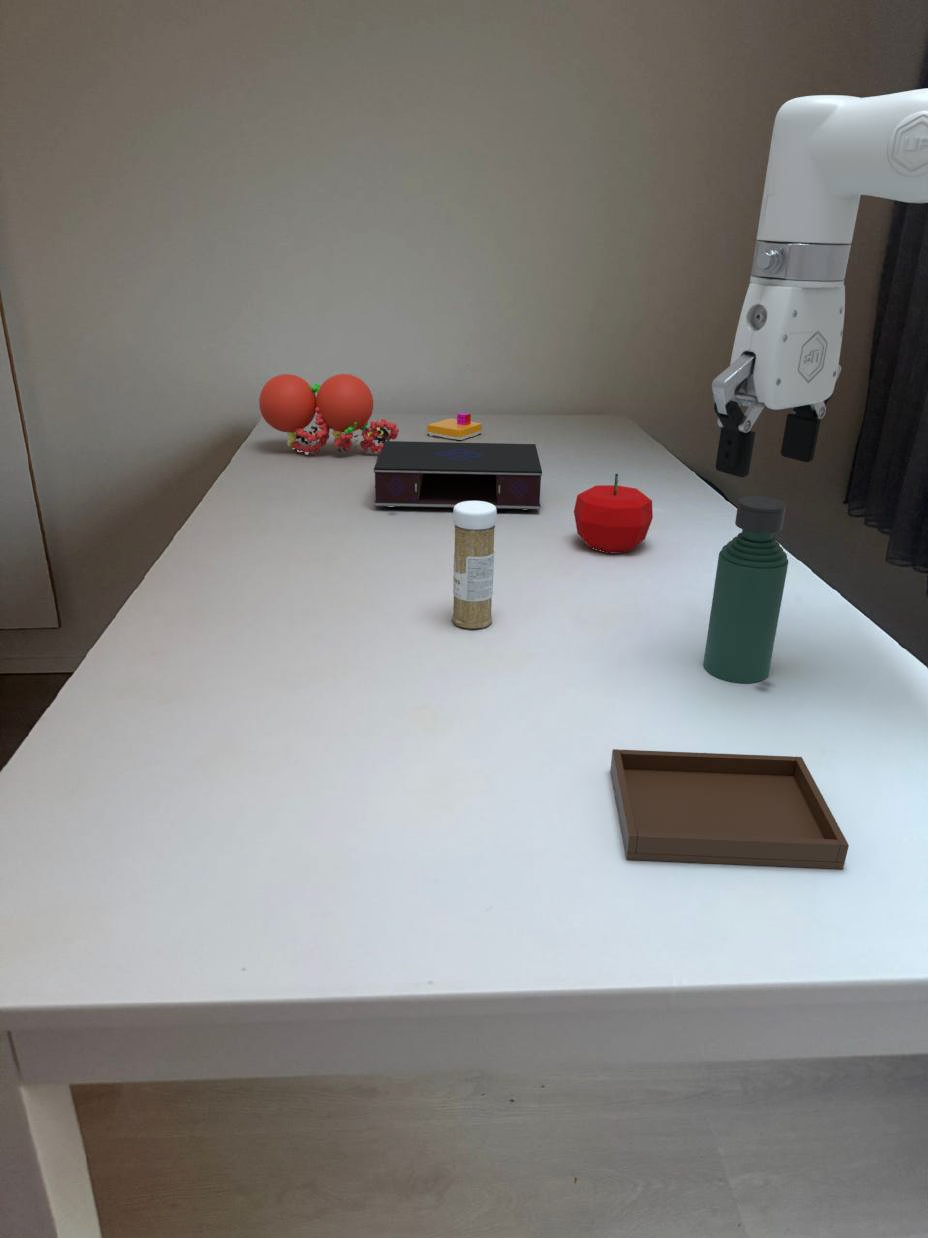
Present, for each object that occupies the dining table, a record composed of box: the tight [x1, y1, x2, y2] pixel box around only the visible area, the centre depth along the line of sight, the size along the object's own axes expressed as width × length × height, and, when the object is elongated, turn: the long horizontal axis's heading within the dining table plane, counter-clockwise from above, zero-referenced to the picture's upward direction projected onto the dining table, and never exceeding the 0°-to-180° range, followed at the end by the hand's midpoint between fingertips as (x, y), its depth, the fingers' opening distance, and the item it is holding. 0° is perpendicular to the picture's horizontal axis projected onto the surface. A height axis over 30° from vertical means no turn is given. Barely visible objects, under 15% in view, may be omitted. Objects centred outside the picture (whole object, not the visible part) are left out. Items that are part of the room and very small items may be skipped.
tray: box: [609, 748, 850, 870], centre depth 69 cm, size 15×11×2 cm
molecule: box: [258, 373, 400, 455], centre depth 165 cm, size 25×11×15 cm, turn 88°
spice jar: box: [451, 501, 498, 629], centre depth 98 cm, size 5×5×13 cm
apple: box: [573, 473, 654, 554], centre depth 122 cm, size 11×11×10 cm
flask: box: [702, 529, 789, 684], centre depth 88 cm, size 6×6×17 cm
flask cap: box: [734, 495, 787, 534], centre depth 85 cm, size 4×4×2 cm
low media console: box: [373, 440, 543, 510], centre depth 143 cm, size 17×25×7 cm
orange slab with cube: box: [426, 412, 483, 438], centre depth 183 cm, size 8×8×4 cm
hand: (764, 465), depth 83 cm, fingers open, 9 cm apart
